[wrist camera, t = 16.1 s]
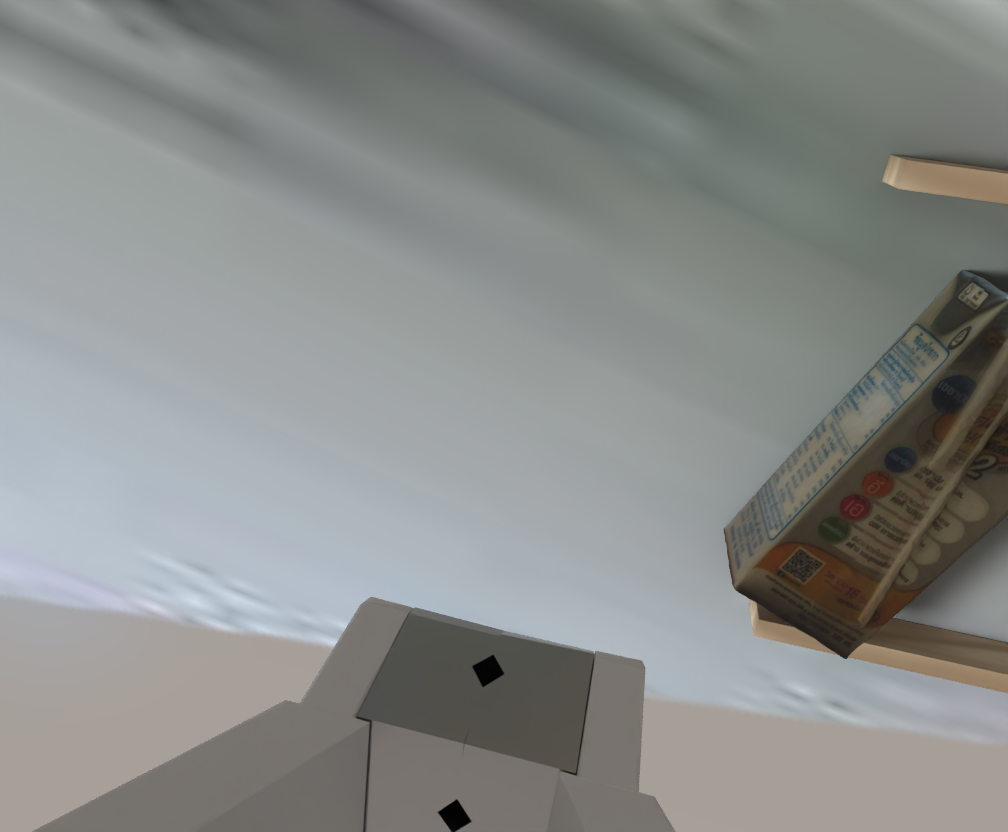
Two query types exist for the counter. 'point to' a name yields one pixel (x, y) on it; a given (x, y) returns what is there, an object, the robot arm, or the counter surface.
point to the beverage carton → (887, 478)
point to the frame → (897, 638)
